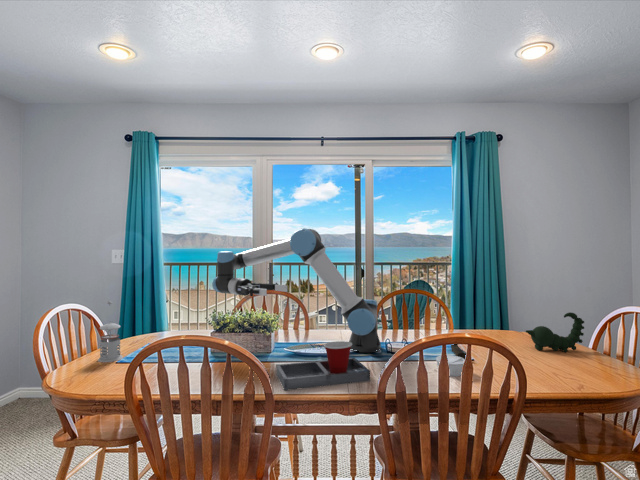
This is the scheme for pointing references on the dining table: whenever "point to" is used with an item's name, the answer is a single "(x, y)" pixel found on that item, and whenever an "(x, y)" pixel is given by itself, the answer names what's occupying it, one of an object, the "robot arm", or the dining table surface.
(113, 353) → the french press
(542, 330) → the toy figurine
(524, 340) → the dining table surface
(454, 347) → the hand tool
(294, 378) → the tray
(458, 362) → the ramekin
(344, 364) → the plastic cup
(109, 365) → the dining table surface
